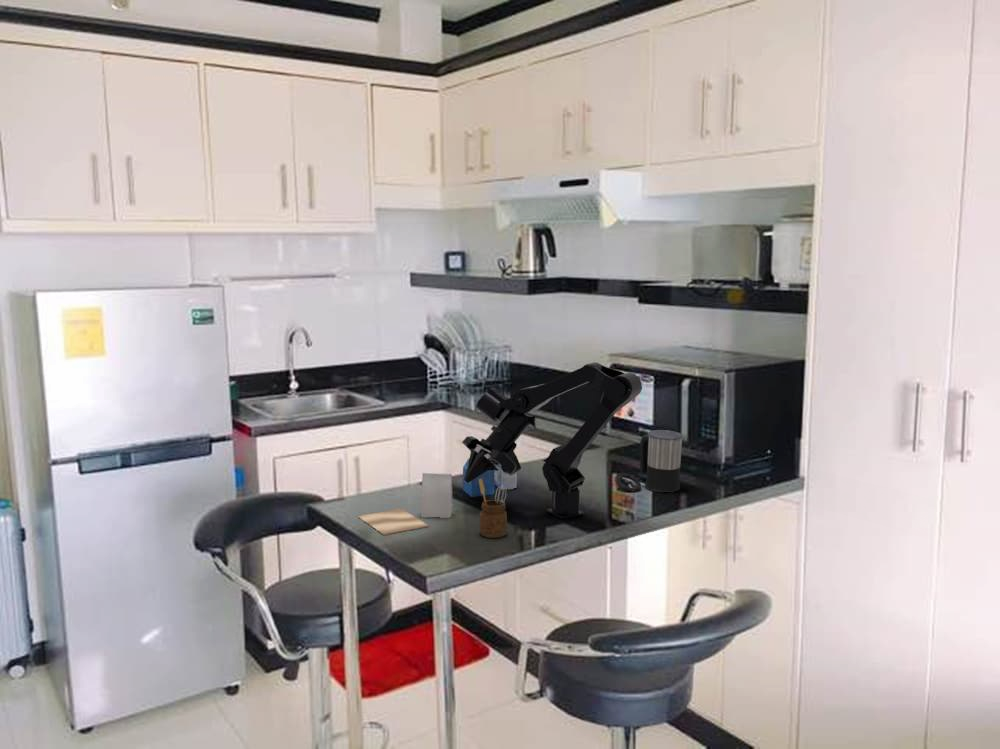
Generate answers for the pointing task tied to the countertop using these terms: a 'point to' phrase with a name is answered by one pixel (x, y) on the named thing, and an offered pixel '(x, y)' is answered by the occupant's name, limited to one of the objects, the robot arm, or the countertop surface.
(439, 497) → the small cardboard carton
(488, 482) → the perfume bottle
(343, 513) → the countertop surface
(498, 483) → the medicine box
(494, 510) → the utensil holder
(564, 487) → the robot arm
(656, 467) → the milk frother
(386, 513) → the cork mat
